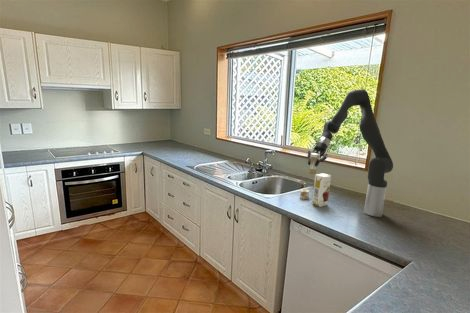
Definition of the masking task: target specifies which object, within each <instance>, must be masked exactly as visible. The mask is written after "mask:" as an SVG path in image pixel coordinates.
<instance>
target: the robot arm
mask: <svg viewBox="0 0 470 313" xmlns="http://www.w3.org/2000/svg"><path fill="white" fill-rule="evenodd" d="M371 104H372V103H371V100H370V96H369V93H368V91H367V90H366V89H364V88H363V89H353V90H352V89H351V90H349V92H348V93H347V94H346V96H345V97H344V99H343V101H342V103H341V105H340V107H339V109H338V110H337V112H336V113H335V115H333V117H332V118H331V120H326V121H325V122H324V124H323V129H322V132H321V133H322V134H321V135H320V138H319V139H318V140H317V142H316V144H315V146H314V148H313V150H308V152H307V157H306V158H307V159H308V161H307V165H309V166H310V162H311V153H316V154H318V159H317V161H316V163H315V166H316V167H317V168H318V166H319V164H320V163H324V161H326V160H327V158H329V155H328V153H326V152H327V150H328V148H329V146H330V143H331V141H332V139H333V134H334V135H335V134H337V133H338V132H339V131H340V128H341V125H342V124H343V123H344V122H345V120H346V119H347V118H348V115H349V114H348V113H349V110H350V109H351V108H352V107H355V106H359V108H360V110H361V118H360V122H359V131H360V133H361V134H360V135H361V136H362V138H363V141H364V142H365V143H367V145H368V146H369V147H370V148H371V150H372V151H373V154H374V157H373V158H371V160H370V161H369V163H368V171H367V180H368V183H367V189H366V196H365V201H364V208H363V213H364V214H365V215H367V216H372V217H377V218H378V217H379V218H381V217H383V211H384V207H385V206H384V205H385V198H386V192H387V187H388V181H387V180H386V179H385V174H388V173H390V172H392V171H393V168H394V162H393V160H392V157H391V155H390V153H389V151H388V149H387V148H386V145H385V142H384V140H383V137H382V134H381V130H380V127H379V125H378V123H377V120H376V117H375V114H374V111H373V108H372V105H371Z"/></svg>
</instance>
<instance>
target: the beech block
mask: <svg viewBox="0 0 470 313" xmlns="http://www.w3.org/2000/svg"><path fill="white" fill-rule="evenodd" d="M299 194H300V196H299V198H300V200H309V196H310V189H305V188H300V192H299Z"/></svg>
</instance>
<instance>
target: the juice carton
mask: <svg viewBox="0 0 470 313" xmlns="http://www.w3.org/2000/svg"><path fill="white" fill-rule="evenodd" d="M331 179H332V175H331V174H327V173H323V172H322V173H316V174H314V184H313V193H312V201H311V204H312V205H315V206H317V207H318V208H321V207H322V208H323V207H325V206H328V202H329V195H330V188H331V181H332V180H331Z"/></svg>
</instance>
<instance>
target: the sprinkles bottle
mask: <svg viewBox="0 0 470 313" xmlns="http://www.w3.org/2000/svg"><path fill="white" fill-rule="evenodd" d="M317 160H318V154H316V153H311V162H310V165H309V172H308V173H309V174H310V175H315V174H317V168H318V166H317V167H316V166H315V163H316V161H317Z"/></svg>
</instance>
